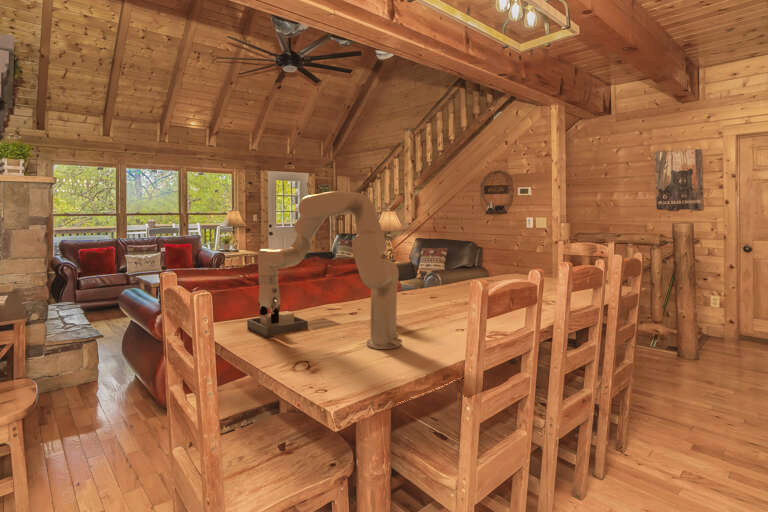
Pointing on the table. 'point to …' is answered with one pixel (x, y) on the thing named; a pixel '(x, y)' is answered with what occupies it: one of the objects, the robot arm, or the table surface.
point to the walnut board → (321, 323)
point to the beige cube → (267, 320)
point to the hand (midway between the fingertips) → (269, 320)
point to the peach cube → (286, 317)
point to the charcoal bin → (275, 327)
